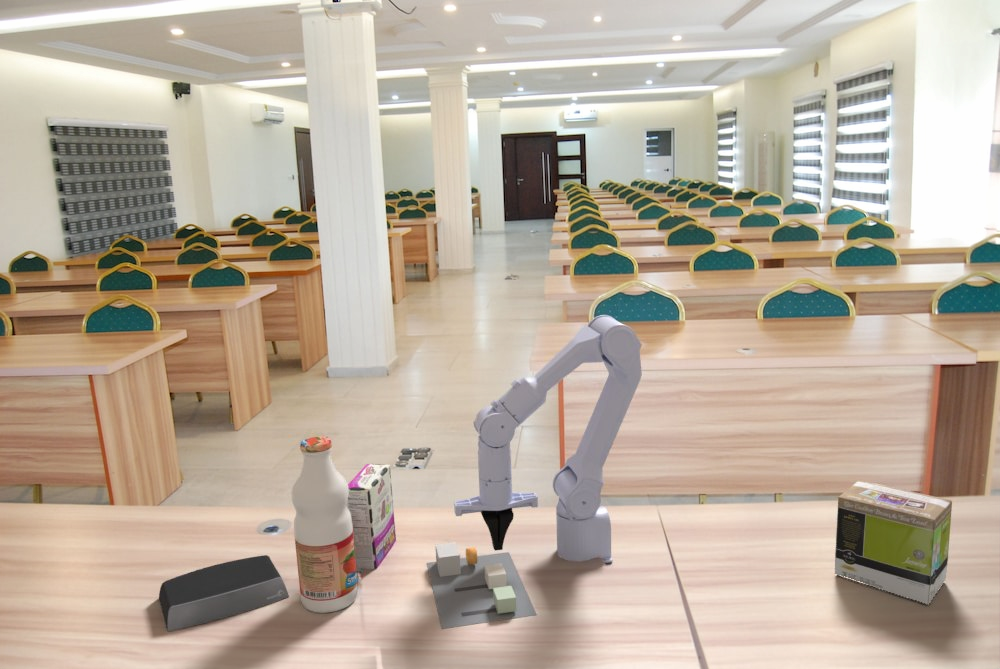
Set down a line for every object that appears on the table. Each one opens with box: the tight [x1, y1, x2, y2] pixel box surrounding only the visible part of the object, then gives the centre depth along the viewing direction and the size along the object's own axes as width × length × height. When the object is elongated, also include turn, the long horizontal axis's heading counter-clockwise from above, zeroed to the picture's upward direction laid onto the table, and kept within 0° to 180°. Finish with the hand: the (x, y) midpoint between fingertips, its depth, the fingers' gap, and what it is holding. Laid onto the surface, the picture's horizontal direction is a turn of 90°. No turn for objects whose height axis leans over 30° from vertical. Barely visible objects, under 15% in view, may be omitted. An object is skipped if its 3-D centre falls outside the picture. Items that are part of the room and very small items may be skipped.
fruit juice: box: [291, 435, 359, 614], centre depth 132 cm, size 9×9×28 cm
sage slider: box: [493, 586, 517, 614], centre depth 128 cm, size 3×4×2 cm
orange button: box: [465, 546, 478, 565], centre depth 142 cm, size 2×3×3 cm, turn 11°
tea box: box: [834, 479, 953, 605], centre depth 134 cm, size 15×10×15 cm, turn 47°
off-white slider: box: [485, 563, 507, 589], centre depth 136 cm, size 3×4×2 cm
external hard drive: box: [158, 554, 290, 632], centre depth 136 cm, size 13×19×4 cm
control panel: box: [426, 541, 538, 630], centre depth 135 cm, size 15×21×5 cm
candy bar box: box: [347, 463, 397, 573], centre depth 146 cm, size 11×5×16 cm, turn 168°
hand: (497, 547), depth 143 cm, fingers closed
